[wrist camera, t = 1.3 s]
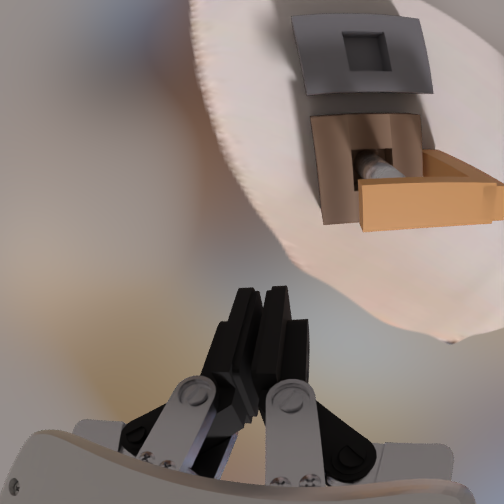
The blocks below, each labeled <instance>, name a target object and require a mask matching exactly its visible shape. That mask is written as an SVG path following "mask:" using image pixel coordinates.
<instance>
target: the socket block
mask: <svg viewBox="0 0 504 504" xmlns="http://www.w3.org/2000/svg"><path fill="white" fill-rule="evenodd" d="M310 121H311V127H312V134H313V141H314V149H315V156H316V165H317V173H318V182H319V192H320V202H321V212H322V219H323V225H330V224H343V223H356V222H360V221H359V191H358V179H362V178H361V176H360V175H359V174H358V173H357V171H356V170H355V167H354V160H355V158H356V156H357V155H358V154H359V153H360V152H362V151H372V152H374V153H375V154H376V155H378V156H379V157H381V158H382V159H383V160H385V161H386V162H387V163H389V164H390V165H392V166H393V167H394V168H395V169H397V170H398V171H399V172H401V173H402V174H403V175H404V176H405V177H423V159H422V133H421V118H420V115H417V114H411V113H349V114H332V115H319V116H310Z"/></svg>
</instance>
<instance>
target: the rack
mask: <svg viewBox="0 0 504 504" xmlns="http://www.w3.org/2000/svg"><path fill="white" fill-rule="evenodd" d="M291 20H292V27H293V31H294V36H295V40H296V45H297V49H298V54H299V59H300V64H301V69H302V74H303V79H304V85H305V90H306V96H309V95H320V94H335V93H359V92H391V93H415V94H433V86H432V79H431V73H430V67H429V61H428V56H427V51H426V46H425V41H424V37H423V33H422V29H421V25H420V21H419V19H416V18H409V17H401V16H392V15H380V14H359V13H333V14H312V15H300V16H291Z"/></svg>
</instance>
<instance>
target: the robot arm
mask: <svg viewBox="0 0 504 504" xmlns="http://www.w3.org/2000/svg"><path fill="white" fill-rule="evenodd" d="M308 379H309V325H308V319H301V320H292V319H291V311H290V303H289V295H288V288H287V286H273V287H272V290H269V291H267V292H266V297H265V302H264V307H263V306H262V301H261V296H260V292H259V291H255V290H254V288H239V289H238V291H237V295H236V297H235V300H234V303H233V306H232V309H231V313H230V316H229V319H228V321H226V322H223V321H221V322H220V323H219V325H218V327H217V330H216V333H215V335H214V338H213V341H212V344H211V347H210V349H209V352H208V355H207V358H206V361H205V363H204V367H203V369H202V373H201V375H200V376H192V377H188V378H186V379H184V380H183V381H181V382H180V383H179V384H178V385H177V387H176V388H175V390H174V391H173V393H172V395H171V397H170V399H169V400H168V402H167V403H166V404H164V405H162V406H160V407H158V408H156V409H154V410H152V411H150V412H149V413H147V414H145V415H143V416H141V417H139V418H137V419H135V420H133V421H131V422H129V423H128V424H125V423H124V422H119V421H102V420H91V419H85V420H81V421H79V422H78V423H77V424H76V426H75V428H74V430H73V433H72V434H71V433H68V432H65V431H61V430H41V431H38V432H35V433H34V434H32V435H31V436H30V437H29V438H28V439H27V440H26V442H25V443H24V445H23V446H22V448H21V449H20V451H19V453H18V455H17V457H16V459H15V461H14V463H13V465H12V467H11V469H10V471H9V473H8V476H7V479H6V481H5V483H4V486H3V488H2V491H1V494H0V504H476V502H475V499H474V496H473V494H472V492H471V491H470V490H469V489H468V488H467V487H466V486H464V485H462V484H460V483H457V482H453V481H451V477H452V470H453V463H454V457H453V452H452V451H451V449H450V448H449V447H447V446H446V445H443V444H411V443H410V444H409V443H391V442H385V444H379V443H371V442H370V441H369V440H368V439H366V438H365V437H363V436H362V435H361V434H359V433H358V432H357V431H355V430H354V429H353V428H351V427H350V426H349V425H347V424H346V423H345V422H343V421H342V420H341V419H339V418H338V417H337V416H335V415H334V414H333V413H331V412H330V411H329V410H328V409H326V408H325V407H324V406H322V405H321V404H320V403H319V402H317V401H316V399H315V398H316V397H315V393H314V391H313V388H312V387H311V386H310V385H309V384H308ZM258 410H260V413H261V416H262V419H263V421H264V424H265V426H266V473H265V485H255V484H246V483H238V482H231V481H223V480H220V478H221V475H222V473H223V471H224V468H225V466H226V464H227V461H228V459H229V456H230V454H231V451H232V449H233V446H234V444H235V441H236V439H237V436H238V431H239V430H241V429H242V428H244V424H245V423H251V422H252V417H253V416H257V415H258ZM325 484H326V485H327V486H328V487H326V486H325Z"/></svg>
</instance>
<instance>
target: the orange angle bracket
mask: <svg viewBox="0 0 504 504" xmlns="http://www.w3.org/2000/svg"><path fill="white" fill-rule="evenodd" d="M422 159H423V177H398V178H375V179H358V191H359V221H360V226H361V228H362V231H363V232H372V231H386V230H400V229H414V228H429V227H444V226H459V225H476V224H492V221H498V220H504V184H503V183H502V182H500V181H498V180H497V179H495V178H493V177H491V176H490V175H488V174H486V173H484V172H482V171H481V170H479V169H477V168H475V167H473V166H471V165H469V164H467V163H465V162H463V161H461V160H459V159H457V158H455V157H453V156H451V155H449V154H446V153H444V152H442V151H440V150H429V149H422Z"/></svg>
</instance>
